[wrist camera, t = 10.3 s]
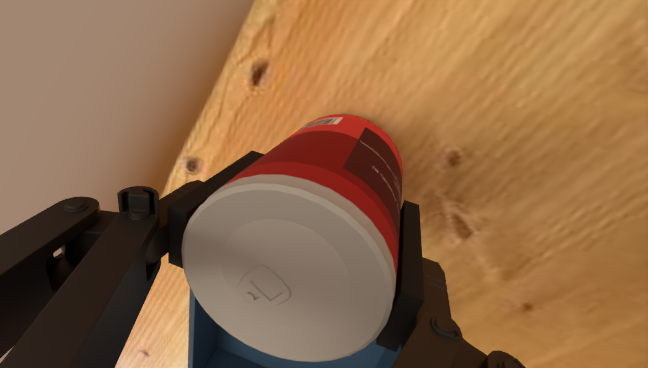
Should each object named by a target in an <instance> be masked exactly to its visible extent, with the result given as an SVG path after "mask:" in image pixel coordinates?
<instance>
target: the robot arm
mask: <svg viewBox="0 0 648 368" xmlns="http://www.w3.org/2000/svg"><path fill="white" fill-rule="evenodd" d="M262 156H264V154H261V153H258V152H255V151H251V152H250V153H248V154H246V155H245V156H243V157H242V158H240V159H239V160H237V161H236V162H234V163H233V164H231V165H230V166H228V167H227V168H225V169H224V170H222V171H221V172H219V173H218V174H216V175H214V176H213V177H211V178H210V179H208V180H207V181H205V182H202V181H199V180H196V181H192V182H189V183H186V184H184V185H183V186H181V187H180V188H179V189H176V190H175V191H173V192H172V193H170V194H168V195H166V196H165V197H163V198H161V199H160V200H159V194H158V192H157V191H156V190H155V189H153V188H150V187H145V186H135V187H129V188H126V189H123V190H121V191H120V192H119V193H118V203H119V213H118V212H110V211H101V210H100V207H99V202H98V201H97V200H95V199H93V198H89V197H73V198H69V199H65V200H62V201H60V202H58V203H56V204H54V205H53V206H51V207H49V208H47V209H46V210H44V211H42V212H40V213H39V214H37V215H35V216H33V217H31V218H30V219H28V220H26V221H24V222H23V223H21V224H19V225H18V226H16V227H14V228H12V229H10V230H8V231H7V232H5V233H3V234H2V235H0V358H1V357H2V356H3V355H4V354H5V353H7V351H9V350H10V349H11V348H12V347H13V346H14V345H15V346H14V347H13V348H12V350H11V351H10V352H9V353H8V355H7V356H6V357H5V358H4V360H3V361H2V362H1V363H0V368H115V365H116V363H117V361H118V359H119V357H120V354H121V352H122V350H123V348H124V346H125V343H126V341H127V339H128V337H129V335H130V333H131V330H132V328H133V326H134V324H135V322H136V319H137V317H138V315H139V313H140V311H141V308H142V306H143V304H144V302H145V300H146V297H147V295H148V293H149V291H150V289H151V287H152V284H153V282H154V280H155V278H156V276H157V273H158V271H159V269H160V266H161V258H162V257H163V256H164V255H165V254H166V253H169V263H171V264H173V265H176V266H178V267H181V268H183V263H182V251H181V248H182V241H183V235H184V232H185V229H186V227H187V224H188V222H189V220H190V218H191V217H192V215H193V214H194V213H195V211H196V210H197V209H198V208H199V206H200V205H202V204H203V203H204V202H205V201H206V200H207V198H208V197H209V196H210V195H212V194H213V193H214V192H216V191H217V190H218V189H220V188H221V187H222V186H224V185H225V184H226V183H227V182H228V181H230V180H231V179H232V178H234V177H235V176H236V175H237V174H239V173H240V172H242V171H243V170H244V169H246V168H247V167H248V166H250V165H251V164H253V163H254V162H255V161H257V160H258V159H260V158H261V157H262ZM59 248H61V250H62V253H61V254H59V255H58V256H56V257H54V256H53V253H54V252H55V251H57V250H58V249H59ZM376 344H377V345H379V346H382V347H384V348H387V349H389V350H392V351H394V352H396V351H397V350H398V348H399V346H400V344H401V352H400V354H399V355H398V357H397V359H396V360H395V362H394V364H393V365H392V367H391V368H525V366H524V365H523V364H521V363H520V362H519V361H518V360H517V359H516V358H514V357H513V356H511V355H510V354H508V353H505V352H502V351H492V352H491V353H490V354H489V355H488V356H487V355H486V354H484V353H483V352H481V351H480V350H478V349H476V348H475V347H473V346H472V345H471V344H469V343H468V342H467V341H465V340H464V339H463V338H462V333H461V331H460V328H459V327H458V325H457V324H456V323H455V321H453V320H452V319H451V313H450V306H449V300H448V293H447V286H446V280H445V273H444V271H443V270H442V268H441V266H440V265H439V263H437V262H434V261H431V260H429V259H426V258H423V257H422V248H421V230H420V212H419V205H418V204H415V203H411V202H408V201H404V203H403V205H402V208H401V211H400V230H399V250H398V266H397V276H396V288H395V297H394V299H393V302H392V309H391V312H390V315H389V318H388V321H387V323H386V325H385V326H384V328H383V329H382V331H381V332H380V334H379V335H378V336H377V338H376Z"/></svg>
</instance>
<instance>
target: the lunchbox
mask: <svg viewBox="0 0 648 368" xmlns="http://www.w3.org/2000/svg"><path fill="white" fill-rule="evenodd" d="M400 352H401V344H400V346H399V348H398V350H397V351H396V352H394V351H392V350H389V349H387V348H384V347H382V346H379V345H377V344H376V338H375V339H374V340H373V341H372V342H371V343H370V344H368V345H367V346H366V347H365V348H363V349H361V350H359V351H357V352H355V353H354V354H352V355H350V356H346V357H343V358H339V359H336V360H331V361H321V362H304V361H294V360H289V359H284V358H279V357H276V356H273V355H270V354H267V353H264V352H261V351H259V350H257V349H255V348H253V347H251V346H249V345H246V344H245V343H243V342H242V341H240V340H238V339H237V338H235V337H234V336H232V335H231V334H229V333H228V332H227V331H226V330H224V329H223V328H222V327H221V326H220V325H218V324H217V323H216V322H215V321H214V320H213V319H212V318H211V317H210V315H209V314H208V313H207V312H206V311H205V310H204V309H203V307H202V306H201V304H200V303H199V302H198V300H197V299H196V297H195V296H194V294H193V292H192V290H191V288H190V307H189V346H188V368H391V367H392V365H393V364H394V362H395V360H396V359H397V357H398V355H399V354H400Z"/></svg>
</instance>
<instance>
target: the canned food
mask: <svg viewBox="0 0 648 368" xmlns="http://www.w3.org/2000/svg"><path fill="white" fill-rule="evenodd" d="M402 171H403V170H402V164H401V158H400V156H399V153H398V151H397V148H396V146H395V145H394V143H393V142H392V140H391V139H390V137H389V136H388V135H387V134H386V133H385V132H384V131H383V130H382V129H380V128H379V127H378V126H376V125H374V124H373V123H371V122H370V121H367V120H365V119H362V118H359V117H356V116H350V115H330V116H325V117H321V118H318V119H316V120H314V121H312V122H310V123H308V124H307V125H305V126H304V127H302V128H301V129H300V130H298V131H297V132H296V133H294V134H293V135H291V136H290V137H289V138H287V139H286V140H284V141H283V142H282V143H280V144H279V145H278V146H276V147H275V148H273V149H272V150H271V151H269V152H268V153H266V154H265V155H264V156H262V157H261V158H260V159H258V160H257V161H255V162H254V163H253V164H251V165H250V166H248V167H247V168H246V169H244V170H243V171H242V172H240V173H239V174H237V175H236V176H235V177H234V178H232V179H231V180H230V181H228V182H227V183H226V184H225V185H224V186H222V187H221V188H220V189H218V190H217V191H216V192H214V193H213V194H212V195H210V196H209V197H208V198H207V200H206V201H205V202H204V203H203V204H202V205H200V206H199V208H198V209H197V210H196V211H195V213H194V214H193V215H192V217H191V218H190V220H189V222H188V224H187V227H186V229H185V232H184V235H183V241H182V248H181V251H182V263H183V268H184V272H185V275H186V278H187V282H188V284H189V286H190V288H191V290H192V292H193V294H194V296H195V297H196V299H197V300H198V302H199V303H200V304H201V306H202V307H203V309H204V310H205V311H206V312H207V313H208V314H209V315H210V317H211V318H212V319H213V320H214V321H215V322H216V323H217V324H218V325H220V326H221V327H222V328H223V329H224V330H226V331H227V332H228V333H229V334H231V335H232V336H234V337H235V338H237V339H238V340H240V341H242V342H243V343H245V344H246V345H249V346H251V347H253V348H255V349H257V350H259V351H261V352H264V353H267V354H270V355H273V356H276V357H279V358H284V359H289V360H294V361H304V362H321V361H331V360H336V359H339V358H343V357H346V356H350V355H352V354H354V353H355V352H357V351H359V350H361V349H363V348H365V347H366V346H367V345H368V344H370V343H371V342H372V341H373V340H374V339H375V338H377V336H378V335H379V334H380V332H381V331H382V329H383V328H384V326H385V325H386V323H387V321H388V318H389V315H390V312H391V309H392V302H393V299H394V297H395V288H396V276H397V266H398V250H399V230H400V211H401V191H402Z"/></svg>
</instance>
